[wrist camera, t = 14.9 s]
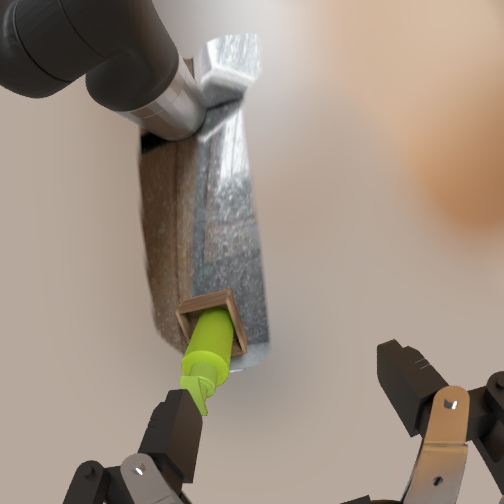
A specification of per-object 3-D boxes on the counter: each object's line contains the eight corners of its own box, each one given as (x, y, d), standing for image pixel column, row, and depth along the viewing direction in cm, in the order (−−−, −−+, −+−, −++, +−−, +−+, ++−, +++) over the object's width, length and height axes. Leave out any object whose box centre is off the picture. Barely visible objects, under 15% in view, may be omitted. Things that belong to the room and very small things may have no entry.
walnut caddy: (182, 299, 44) (174, 311, 39) (231, 288, 43) (228, 299, 38) (200, 347, 46) (196, 362, 41) (247, 338, 45) (246, 353, 40)
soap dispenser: (231, 299, 43) (217, 379, 23) (236, 337, 44) (228, 426, 25) (195, 302, 43) (158, 378, 23) (201, 339, 44) (175, 424, 25)
